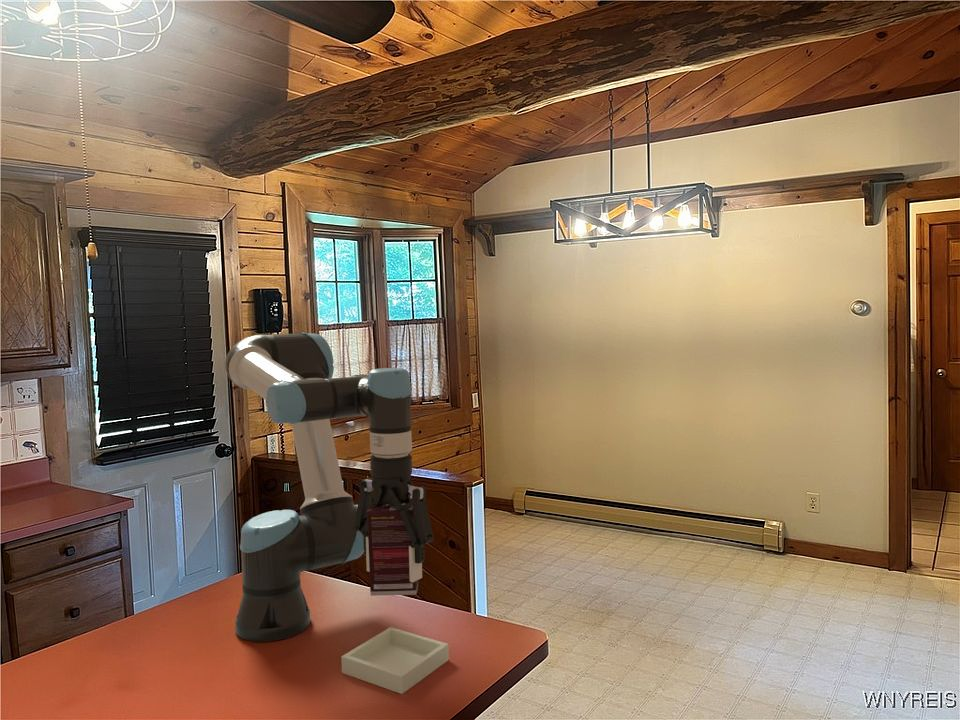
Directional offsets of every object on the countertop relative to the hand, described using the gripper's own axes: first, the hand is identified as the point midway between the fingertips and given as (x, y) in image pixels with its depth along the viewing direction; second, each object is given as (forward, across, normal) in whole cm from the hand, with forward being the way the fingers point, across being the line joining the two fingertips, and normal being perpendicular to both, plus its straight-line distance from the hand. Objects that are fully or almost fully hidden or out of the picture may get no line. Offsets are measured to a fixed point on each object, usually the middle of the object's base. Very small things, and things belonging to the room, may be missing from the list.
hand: (394, 574), depth 133 cm
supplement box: (+3, 0, 0) cm, 3 cm away
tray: (+17, 0, 0) cm, 17 cm away
